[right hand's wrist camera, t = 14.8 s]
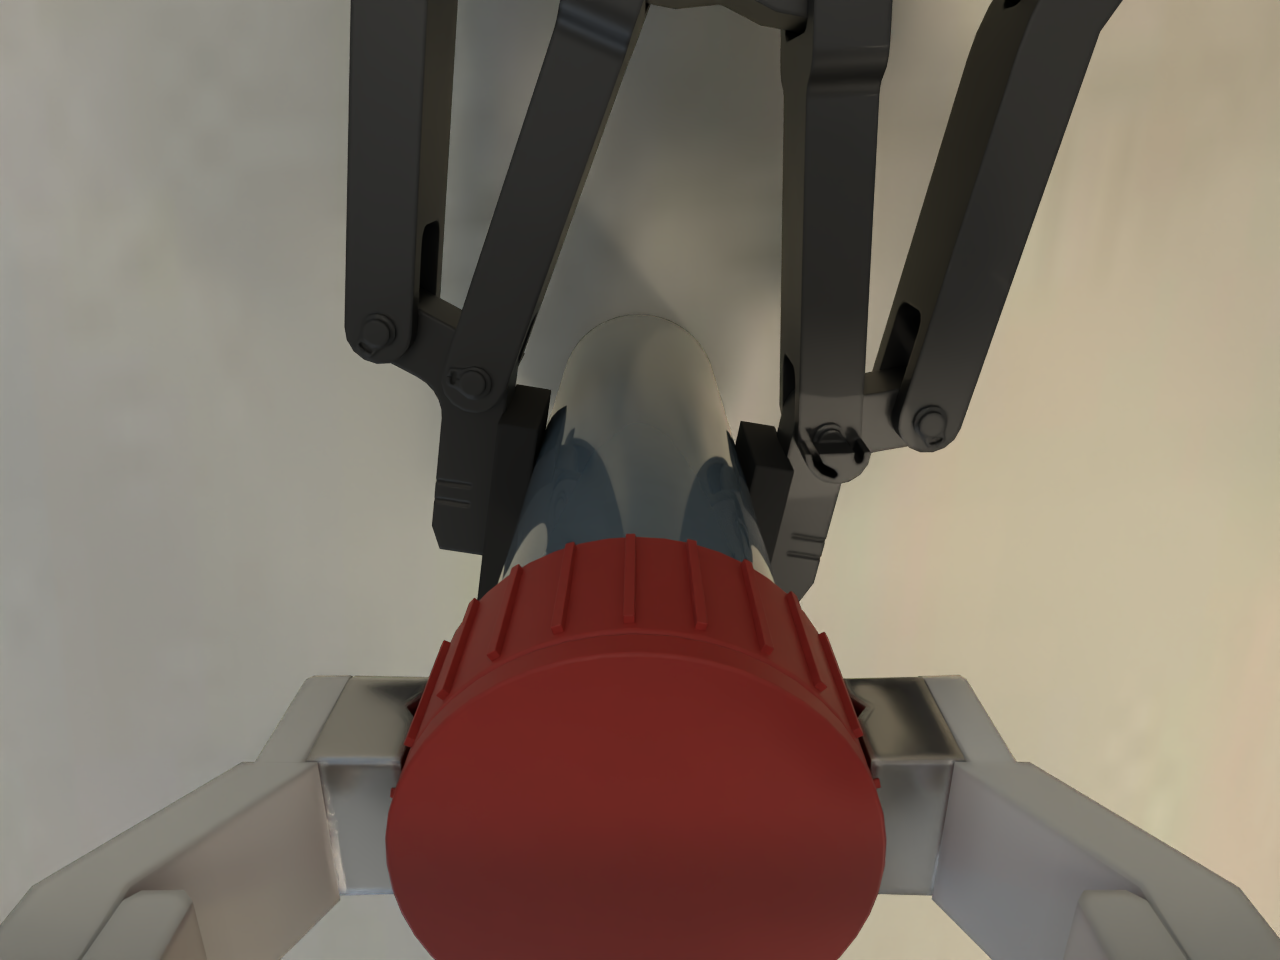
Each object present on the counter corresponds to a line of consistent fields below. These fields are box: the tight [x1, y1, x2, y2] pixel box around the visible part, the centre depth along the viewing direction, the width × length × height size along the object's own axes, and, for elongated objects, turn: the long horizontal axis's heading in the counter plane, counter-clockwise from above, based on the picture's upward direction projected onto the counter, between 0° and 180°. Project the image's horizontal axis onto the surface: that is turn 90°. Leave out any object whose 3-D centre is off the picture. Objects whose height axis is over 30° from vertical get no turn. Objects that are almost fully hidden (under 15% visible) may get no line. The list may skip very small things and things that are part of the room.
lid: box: [385, 534, 886, 960], centre depth 10 cm, size 5×5×2 cm
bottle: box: [498, 314, 777, 585], centre depth 17 cm, size 4×4×16 cm
